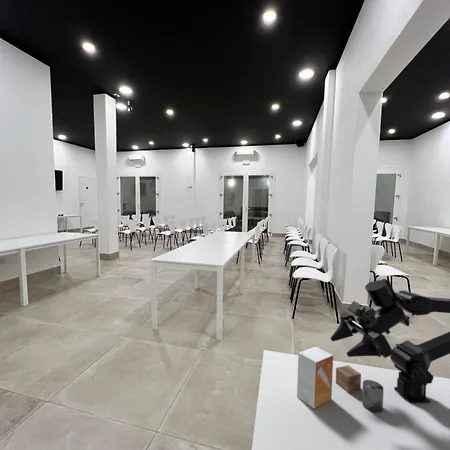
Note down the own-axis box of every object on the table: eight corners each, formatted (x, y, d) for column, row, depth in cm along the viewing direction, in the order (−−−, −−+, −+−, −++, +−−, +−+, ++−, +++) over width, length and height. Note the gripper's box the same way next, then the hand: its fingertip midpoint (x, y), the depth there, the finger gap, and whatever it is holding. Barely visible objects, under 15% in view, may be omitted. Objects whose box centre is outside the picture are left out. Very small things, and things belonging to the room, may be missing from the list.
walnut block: (347, 380, 84) (348, 365, 84) (360, 390, 80) (361, 373, 80) (335, 383, 83) (336, 367, 83) (347, 393, 78) (348, 376, 78)
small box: (314, 410, 70) (316, 362, 70) (296, 396, 76) (297, 352, 76) (332, 399, 75) (333, 354, 75) (314, 387, 80) (315, 345, 80)
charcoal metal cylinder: (374, 400, 75) (375, 379, 75) (387, 412, 70) (387, 391, 70) (358, 400, 75) (359, 380, 75) (369, 413, 70) (370, 391, 70)
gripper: (352, 288, 85) (312, 312, 85) (393, 306, 67) (342, 337, 66) (368, 316, 86) (328, 341, 85) (413, 342, 67) (363, 374, 66)
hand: (338, 346), depth 76 cm, fingers open, 9 cm apart
